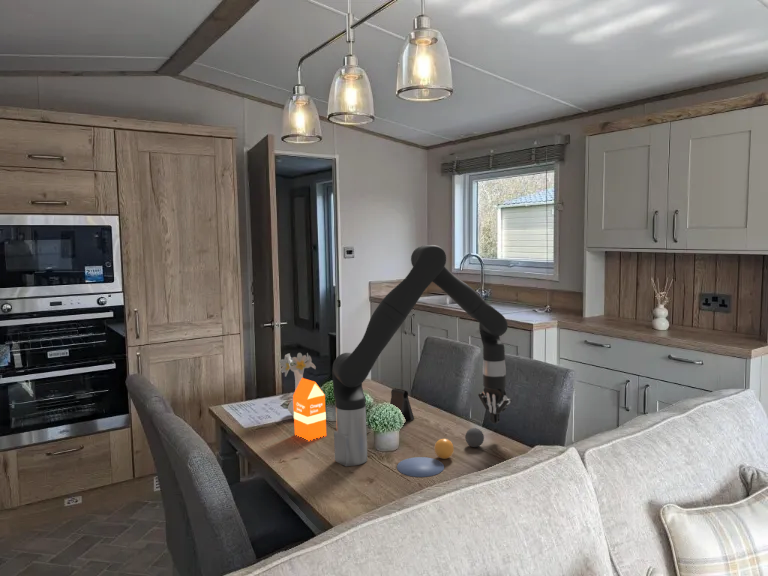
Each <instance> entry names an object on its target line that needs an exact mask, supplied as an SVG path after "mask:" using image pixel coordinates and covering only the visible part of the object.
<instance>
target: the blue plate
mask: <svg viewBox="0 0 768 576" xmlns="http://www.w3.org/2000/svg"><path fill="white" fill-rule="evenodd" d="M396 469H397V471H398V472H399V473H401V474H402V475H404V476H408V477H414V478H425V477H426V478H427V477H433V476H437V475H438V474H441V472H443V471H444V469H445V466H444V463H443V462H442V461H440V460H438V459H435V458H432V457H427V456H425V457H424V456H417V457H409V458H406V459H402V460H401V461H399V462H398V464H397V465H396Z"/></svg>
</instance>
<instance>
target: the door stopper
mask: <svg viewBox="0 0 768 576" xmlns="http://www.w3.org/2000/svg"><path fill="white" fill-rule="evenodd" d="M390 395H391V398H390V401H389V405H390V404H393V405H395V406H396V407H398V408H399V409H400V410H401V412H402V414H403V415H404V417H405V419H406V422H407V423H409V422H411V420H412V421H414V420H415V417H414V413H413V409H412V407H411V402H410V400H409V392H408V390H405V389H401V388H396V387H395V388H392V389H391V392H390ZM413 419H414V420H413ZM408 421H409V422H408Z"/></svg>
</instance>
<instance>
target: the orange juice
mask: <svg viewBox="0 0 768 576" xmlns="http://www.w3.org/2000/svg"><path fill="white" fill-rule="evenodd" d="M292 400H293V404H294V417H293V420H294V421H293V425H294V426H293V427H294V435H295V436H296V435H297V436H296V437H298V436H299V437H298V438H300V437H302V438H304V439H306V440H308V441H307V442H311V441H314V440H313V439H315V440H317V439H316V438H318V439H321V438H324V437H327V413H326V394H325V393H324V392H323V390H322V389H321V388H320V386H319V385H318V384H317V382H316V381H314V380H310V379H307V378H304V377H303V378H302V379H301V381H300V383H299V385H298V387H297V389H296V391H295V390H294V392H293V395H292ZM323 436H324V437H323ZM320 437H321V438H320ZM302 438H301V439H302ZM304 439H303V440H304ZM306 440H305V441H306ZM310 440H311V441H310Z"/></svg>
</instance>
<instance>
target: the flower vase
mask: <svg viewBox="0 0 768 576" xmlns="http://www.w3.org/2000/svg"><path fill="white" fill-rule="evenodd" d="M312 361H313V360H312V356H311V355H309V353H308V352H307V353H306V354H302V353H301V352H298V353H297V355H296V356H293V357H291V352H290V353H287V354H285V355H284V358H282V359H280V360H279V364H280V365H279V367H280V372H281V373H282V374H283V373H284V377H286V378H287V375H288V373H289V372H290V371H291V372H293V374H294V380H295V381H294V384H295V385H294V387H295V388H294V389H295V390H294V392H295V391H296V389H297V387H298V385H299V383H300V381H301V379H302V378H304V371H305V369H310V368H312V369H314V370H316V368H317V367H316V365H315V364H314V363H313V362H312ZM287 410H288V412H289V413H290V415H291V416H292V418H294V404H293V399H292V400H291V401H290V402H289V404H288V406H287Z"/></svg>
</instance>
